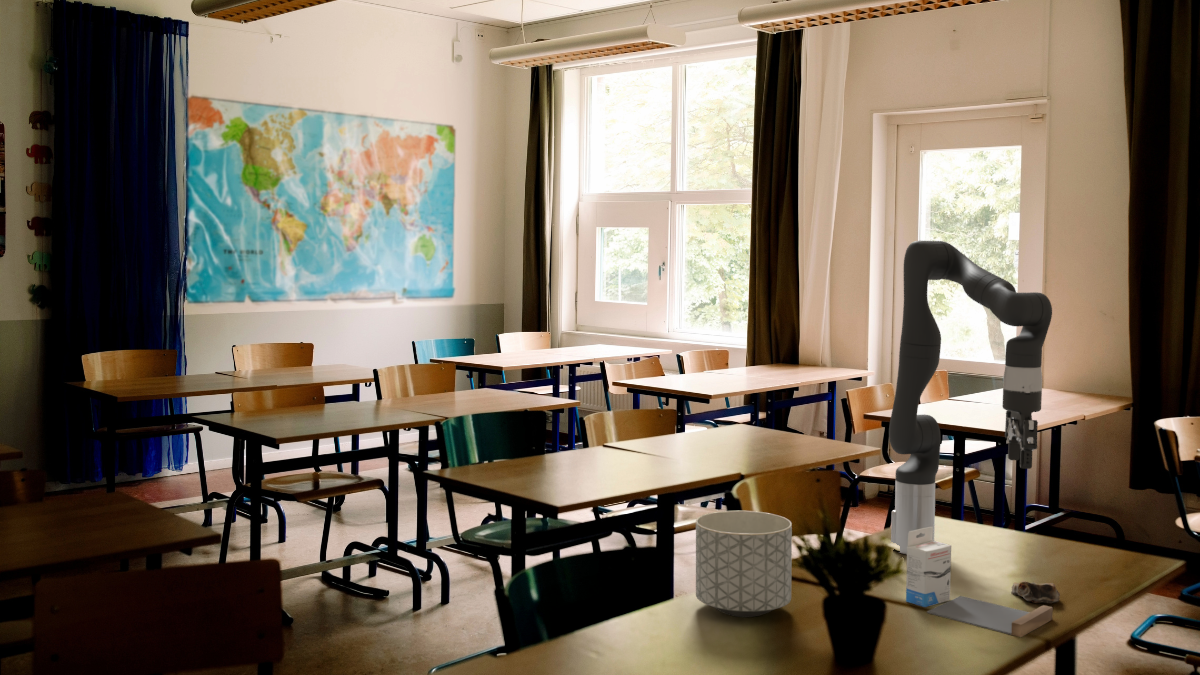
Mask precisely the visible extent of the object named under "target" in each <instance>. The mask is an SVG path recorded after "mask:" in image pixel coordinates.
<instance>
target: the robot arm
mask: <svg viewBox="0 0 1200 675" xmlns="http://www.w3.org/2000/svg"><path fill="white" fill-rule="evenodd" d="M940 280H946V281H951V282H954V283H956V284H959V285H960V286H962V289H963V291H964V293H965V294H966V295H967V297H969V298H970V299H971V300H972V301H974V302H976V303H977V304H979V305H981V306H983V307H985V308H987V309H989V311H991V313H992V314H993V315H994V316H995V317H996V319H998V320H999V321H1000V322H1001V323H1003V324H1005V325H1008V326H1012V327H1022V328H1021V330H1020V333H1019V334H1018V335H1017V336H1015V337H1012V338H1010V339H1008V340H1007V342H1006V344H1005V358H1004V359H1005V362H1004V365H1005V366H1004V371H1003V379H1002V380H1003V382H1002V384H1003V386H1002V409H1003V410H1005V427H1004V437H1005V439H1006V441H1007V443H1008V446H1007V447H1008V450H1007V458H1008V459H1009V460H1010V461H1019V467H1020V469H1023V470H1024V469H1026V470H1028V469H1032V467H1033V451H1035V450H1037V449H1038V428H1039V427H1038V424H1039V422H1038V420H1037V419H1033V417H1032V416H1033V415H1032V414H1033V413H1038V412H1040V411H1042V399H1043V398H1042V395H1043V373H1042V363H1043V361H1042V360H1043V359H1042V358H1043V347H1044V346H1043V345H1044V344H1045V340H1046V339H1047V334H1048V331H1049V329H1050V325H1051V323H1052V318H1053V305H1052V303H1051V301H1050V299H1049V298H1048V297H1047V295H1046V294H1044V293H1043V292H1036V291H1035V292H1016V291H1017V290H1016V288H1015V286H1014V285H1013V284H1012V283H1011V282H1009V281H1008V280H1006V279H1004V278H1002V277H1000V276H998V275H996V274H994V273H992V272H990V271H988V270H986V269H985V268H982V267H981V266H980V265H978V264H977V263H975V262H974V261H973V260H971V259H970V258H968V257H967V256H966V255H964V253H963V252H961V251H960V250H959V249H958V248H956V247H955V246H953V245H952V244H951V243H949V242H947V241H945V240H944V241H942V240H915V241H912V242H911V243H909V244H908V246H907V248H906V250H905V254H904V259H903V309H902V310H903V312H902V324H901V334H900V342H899V352H898V353H899V354H898V369H897V379H896V387H895V393H894V400H893V405H892V409H891V410H892V411H891V416H890V421H889V428H888V440H889V443H890V447H891V448H892V449H893V451H894V452H895V453H896V454H899V455H910V456H909V458H908V460H906V461H905V462H904V463H902V465H901V464H900V465H899V466H898V467H897V468H896V469H895V482H894V483H895V488H894V489H895V490H894V492H895V493H894V495H895V497H894V498H895V499H894V506H895V507H894V509H893V510H892V511H891V521H890V524H891V525H890V526H891V527H890V528H891V529H890V535H891V537H890V543H891V542H893V543H896V544H897V545H899V546H900V552H899V554H900V553H901V554H903V555H907V546H908V533H909V531H914V530H918V529H922V528H927V527H931V526H932V527H933V541H935V528H936V527H935V525H936V524H935V519H936V516H935V514H936V513H935V512H936V508H935V507H936V477H937V473H938V471H939V467H940V455H941V454H940V453H941V440H942V439H941V430H940V426H939V423H938V421H937V420H936V418H935V417H933V416H931V415H930V414H918V408H919V403H920V400H921V397H922V395H923V393H924V391H925V389H926V388H927V386H928V385H929V383H930V381H931V380H932V378H933V377H934V375H935V373H936V370H937V369H938V366H939V364H940V357H941V356H940V355H941V344H942V336H941V335H942V334H941V331H940V328H939V325H938V324H937V321H936V319H935V317H934V315H933V313H932V310H931V308H930V305H929V300H928V287H929V286H928V285H929V281H940ZM923 536H925V534H922V533H920V534H919V535H917V536H916V538H919V537H923Z"/></svg>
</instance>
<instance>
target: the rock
mask: <svg viewBox="0 0 1200 675" xmlns="http://www.w3.org/2000/svg"><path fill="white" fill-rule="evenodd" d="M1010 594H1011V595H1015V596H1019V597H1023V599H1024V600H1025V601H1027V602H1032V603H1034V604H1040V603H1044V604H1050V605H1051V604H1053V603H1058V602H1059V601H1060V600H1061V599H1060V598H1061V594H1060V592H1059V590H1057V588H1056V584H1055V583H1053V582H1052V583H1051V582H1045V583H1036V582H1029V581H1026V580H1023V581H1020V582H1019V583H1018V582H1013V584H1012V586H1011V591H1010Z"/></svg>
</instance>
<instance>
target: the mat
mask: <svg viewBox="0 0 1200 675" xmlns="http://www.w3.org/2000/svg"><path fill="white" fill-rule="evenodd" d="M1030 612H1031V611H1026V610H1021V609H1019V608H1018V609H1017V608H1013V607H1008V606H1004V605H1001V604H997V603H992V602H988V601H985V600H984V601H983V600H981V599H975V598H972V597H968V596H963V595H960V596H957V597H955V598H952V599H950V600H949V601H945V602H943V603H941V604H939V605H938V606H936V607H934V608H931V609H929V610H927V611H926V614H930V615H934V616H937V617H941V618H946V619H949V620H951V621H952V620H953V621H957V622H960V623H965V624H967V625H972V626H975V627H980V628H983V629H988V630H990V631H991V630H992V631H994V632H999V633H1002V634H1006V635H1010V636H1012V635H1011V634H1012V622H1013V621H1015V620H1017V619H1019V618H1021V617H1022V616H1024V615H1026V614H1028V613H1030Z"/></svg>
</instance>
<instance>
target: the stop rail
mask: <svg viewBox="0 0 1200 675" xmlns="http://www.w3.org/2000/svg"><path fill="white" fill-rule="evenodd" d="M1053 610H1054V609H1053V607H1052V606H1048V605H1044V604H1043V605H1041V606H1039V607H1037V608H1036V609H1034V610H1032V611H1029V612H1030V613H1028V614H1026V615H1024V616H1022V617H1021V618H1019V619H1017V620H1015V621H1013V622H1012V634H1011V635H1010V636H1014V637H1017V638H1022V637H1025V636H1026V635H1028V634H1029V633H1031V632H1033V631H1035V630H1037V629H1039V628H1040V627H1042V626H1044V625H1045V624H1047V623H1048V622H1050V621H1052V620H1053Z"/></svg>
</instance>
